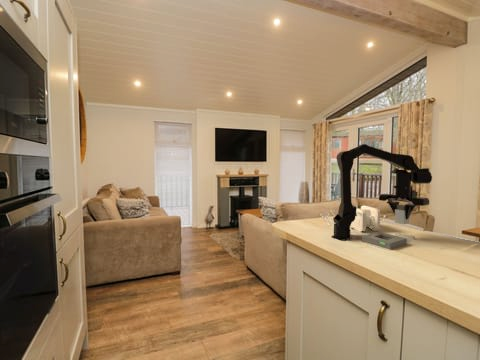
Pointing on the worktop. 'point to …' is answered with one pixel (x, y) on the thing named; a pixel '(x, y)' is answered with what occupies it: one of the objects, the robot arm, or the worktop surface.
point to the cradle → (405, 236)
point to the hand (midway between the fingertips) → (401, 218)
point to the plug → (400, 215)
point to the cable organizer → (366, 219)
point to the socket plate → (384, 240)
